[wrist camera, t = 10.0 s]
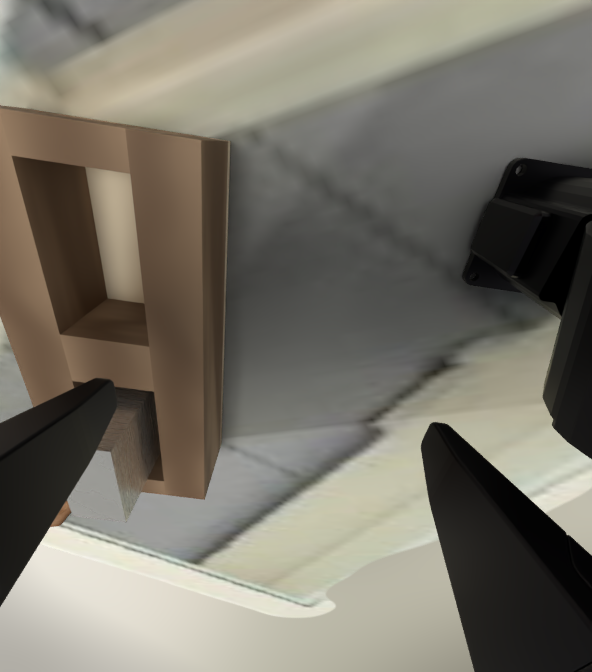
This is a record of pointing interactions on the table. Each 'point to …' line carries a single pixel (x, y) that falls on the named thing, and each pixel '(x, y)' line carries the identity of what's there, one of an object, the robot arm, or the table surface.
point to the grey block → (120, 460)
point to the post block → (119, 272)
